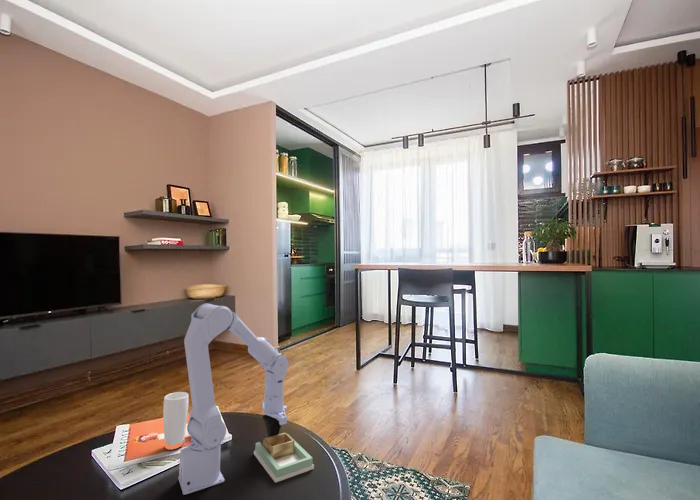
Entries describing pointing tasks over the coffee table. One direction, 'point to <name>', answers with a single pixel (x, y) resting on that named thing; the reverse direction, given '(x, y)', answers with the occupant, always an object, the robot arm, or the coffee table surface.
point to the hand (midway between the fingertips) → (272, 440)
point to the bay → (284, 462)
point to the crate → (279, 445)
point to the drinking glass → (175, 417)
